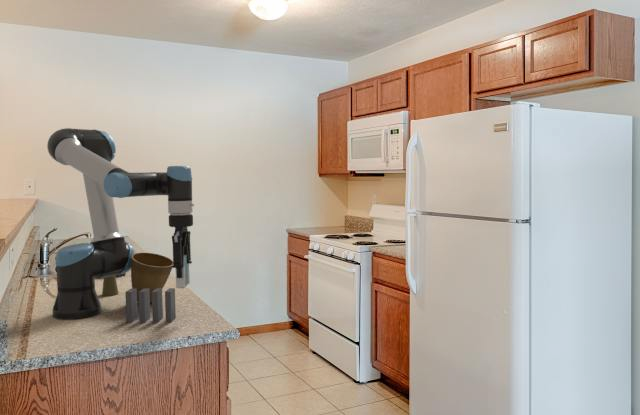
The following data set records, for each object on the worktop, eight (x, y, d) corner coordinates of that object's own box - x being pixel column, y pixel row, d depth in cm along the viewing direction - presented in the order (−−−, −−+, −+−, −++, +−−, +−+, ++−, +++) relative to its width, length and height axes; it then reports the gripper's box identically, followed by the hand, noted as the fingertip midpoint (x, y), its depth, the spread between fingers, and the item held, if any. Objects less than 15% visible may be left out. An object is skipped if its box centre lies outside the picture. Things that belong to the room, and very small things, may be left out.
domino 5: (177, 288, 167) (176, 257, 167) (182, 284, 172) (181, 254, 172) (183, 288, 167) (182, 257, 167) (187, 284, 172) (186, 254, 172)
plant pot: (173, 304, 197) (182, 264, 194) (141, 311, 184) (151, 269, 181) (146, 288, 204) (155, 250, 201) (114, 294, 191) (123, 253, 188)
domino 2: (139, 322, 168) (138, 291, 168) (144, 318, 173) (143, 288, 173) (145, 322, 168) (144, 291, 168) (150, 318, 173) (149, 288, 173)
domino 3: (152, 322, 168) (151, 291, 168) (157, 318, 173) (156, 288, 173) (158, 322, 168) (157, 291, 168) (163, 318, 173) (162, 288, 173)
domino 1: (126, 322, 168) (125, 292, 168) (132, 318, 173) (131, 288, 173) (132, 322, 168) (131, 292, 168) (137, 318, 173) (136, 288, 173)
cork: (112, 296, 204) (111, 268, 204) (98, 295, 206) (97, 268, 205) (121, 292, 210) (120, 265, 209) (108, 292, 211) (106, 265, 211)
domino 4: (165, 322, 168) (164, 291, 168) (170, 318, 173) (169, 288, 173) (171, 322, 168) (170, 291, 168) (175, 318, 173) (174, 288, 173)
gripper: (185, 216, 159) (187, 291, 161) (199, 211, 177) (201, 279, 179) (160, 216, 159) (163, 292, 161) (176, 212, 177) (179, 280, 179)
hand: (183, 285), depth 170 cm, fingers closed on domino 5, 5 cm apart
